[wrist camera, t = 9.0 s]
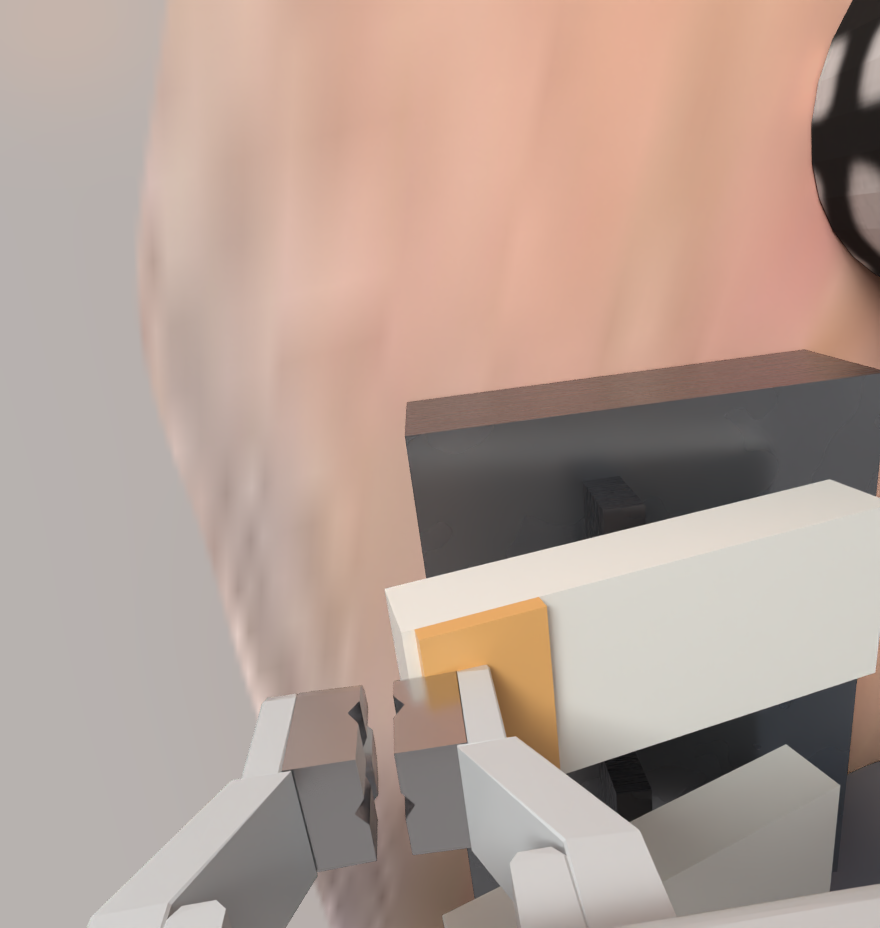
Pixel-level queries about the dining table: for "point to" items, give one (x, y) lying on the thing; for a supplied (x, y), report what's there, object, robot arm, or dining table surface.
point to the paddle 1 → (659, 622)
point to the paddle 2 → (725, 842)
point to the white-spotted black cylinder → (851, 133)
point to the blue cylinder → (860, 831)
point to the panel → (649, 511)
